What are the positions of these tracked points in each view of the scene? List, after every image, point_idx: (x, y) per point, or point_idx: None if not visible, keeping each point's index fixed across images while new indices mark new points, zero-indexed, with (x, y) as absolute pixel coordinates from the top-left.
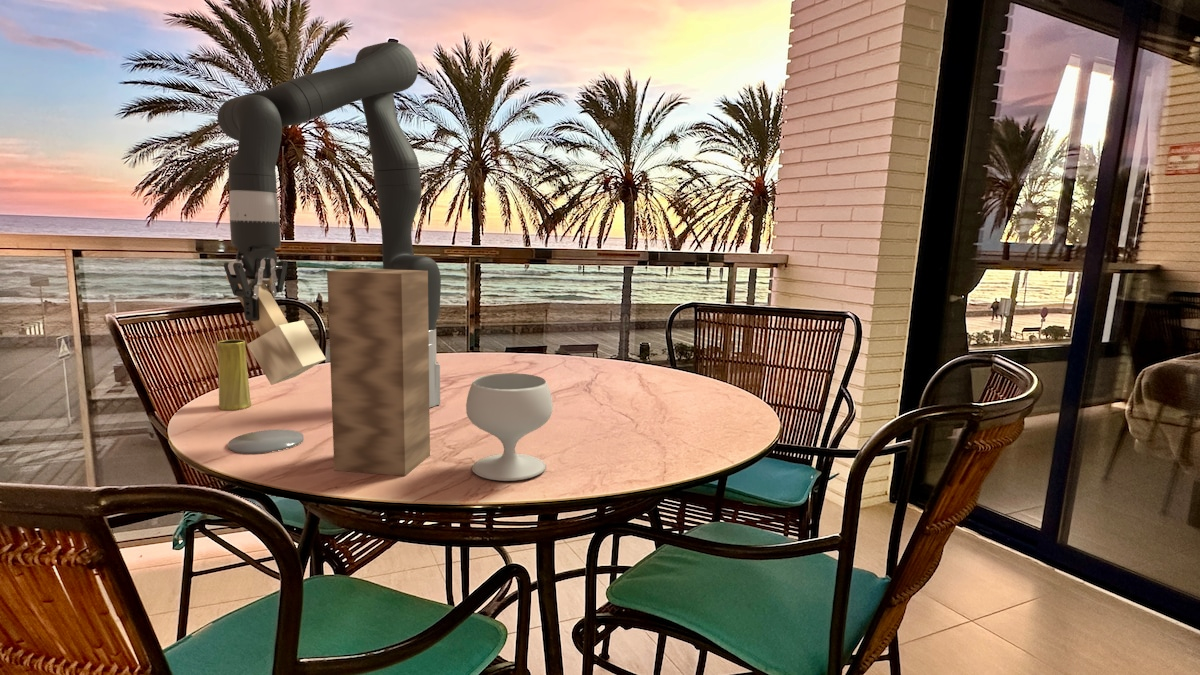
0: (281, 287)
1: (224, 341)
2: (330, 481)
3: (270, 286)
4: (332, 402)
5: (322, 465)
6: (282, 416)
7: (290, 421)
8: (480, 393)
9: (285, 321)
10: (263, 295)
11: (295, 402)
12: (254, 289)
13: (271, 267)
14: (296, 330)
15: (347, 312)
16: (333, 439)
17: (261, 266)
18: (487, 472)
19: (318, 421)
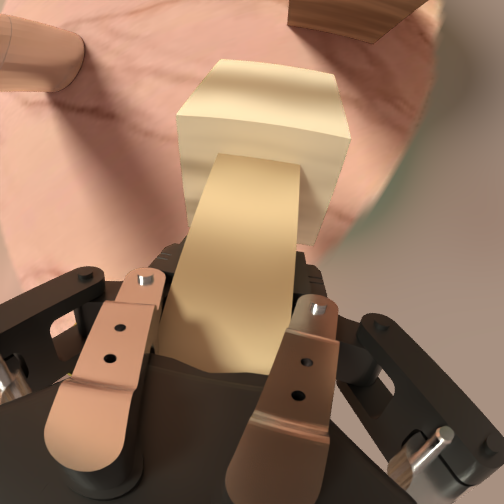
0: (74, 278)
1: (69, 373)
2: (407, 42)
3: (158, 310)
4: (410, 12)
5: (357, 62)
6: (136, 222)
7: (156, 197)
8: None
9: (224, 167)
10: (245, 294)
11: (75, 239)
12: (332, 329)
13: (126, 396)
14: (264, 105)
15: None
16: (387, 31)
17: (311, 443)
18: None
19: (149, 154)
